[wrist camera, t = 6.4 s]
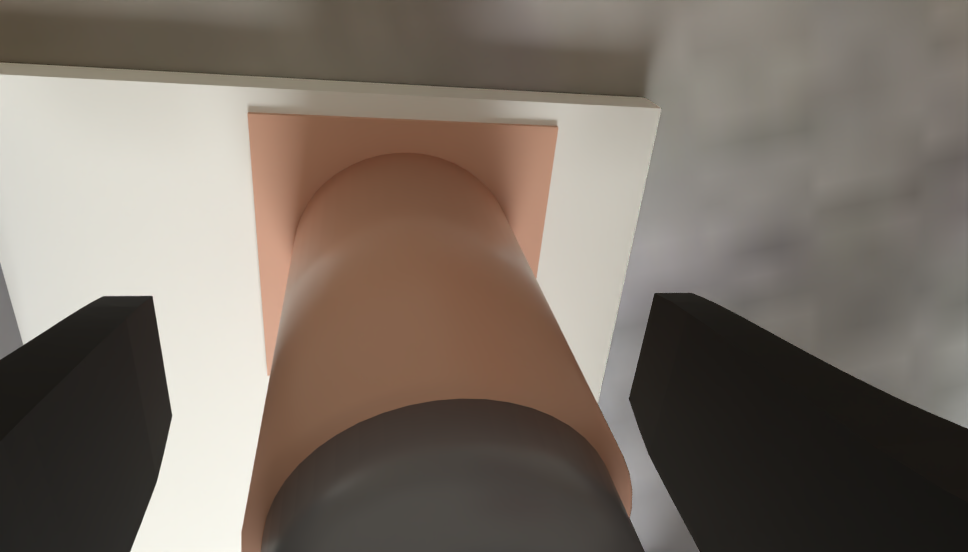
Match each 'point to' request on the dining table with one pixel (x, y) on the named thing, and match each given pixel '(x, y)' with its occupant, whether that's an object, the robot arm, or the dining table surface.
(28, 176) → the picture board
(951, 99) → the dining table surface
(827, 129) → the dining table surface
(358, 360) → the brown and grey cylinder
